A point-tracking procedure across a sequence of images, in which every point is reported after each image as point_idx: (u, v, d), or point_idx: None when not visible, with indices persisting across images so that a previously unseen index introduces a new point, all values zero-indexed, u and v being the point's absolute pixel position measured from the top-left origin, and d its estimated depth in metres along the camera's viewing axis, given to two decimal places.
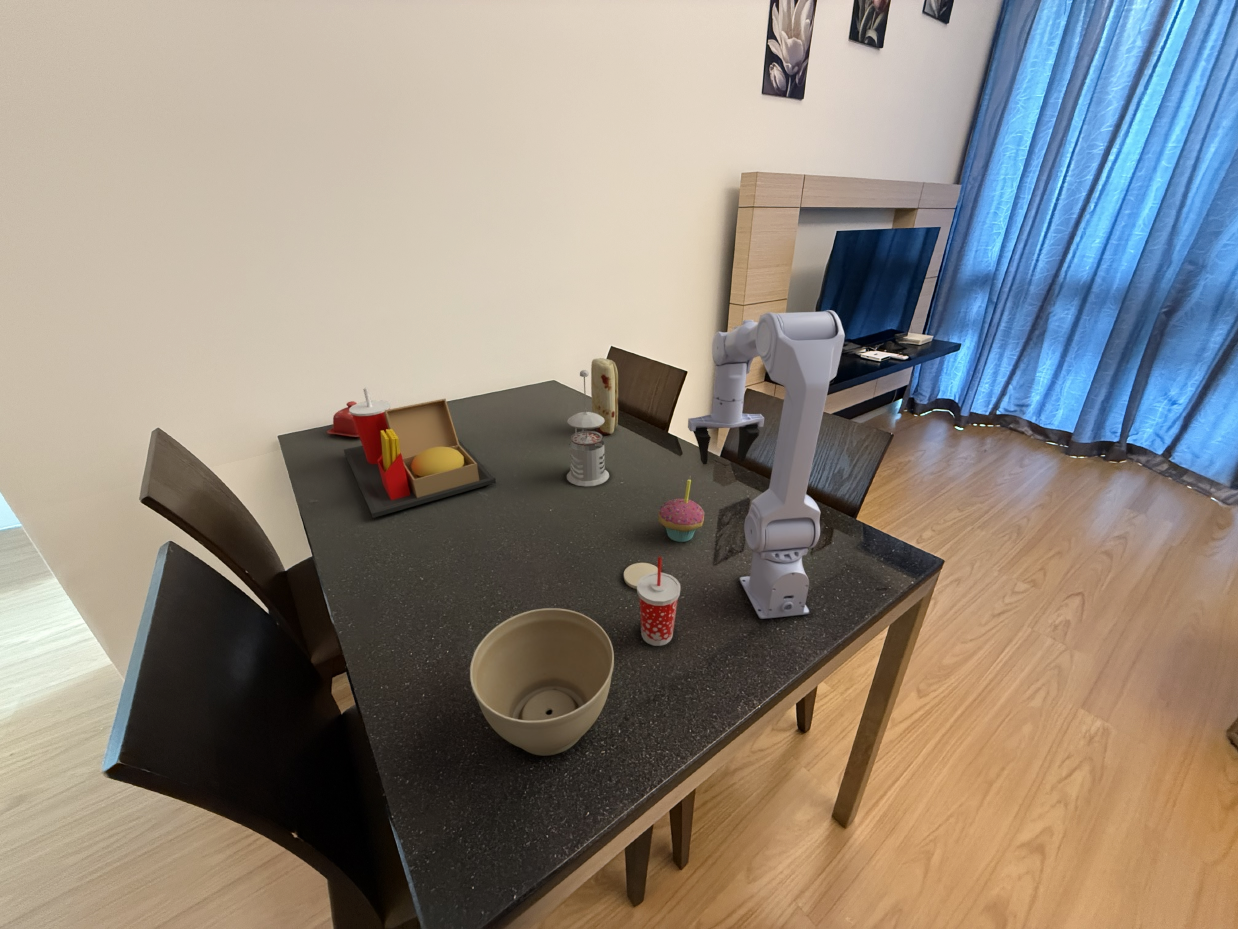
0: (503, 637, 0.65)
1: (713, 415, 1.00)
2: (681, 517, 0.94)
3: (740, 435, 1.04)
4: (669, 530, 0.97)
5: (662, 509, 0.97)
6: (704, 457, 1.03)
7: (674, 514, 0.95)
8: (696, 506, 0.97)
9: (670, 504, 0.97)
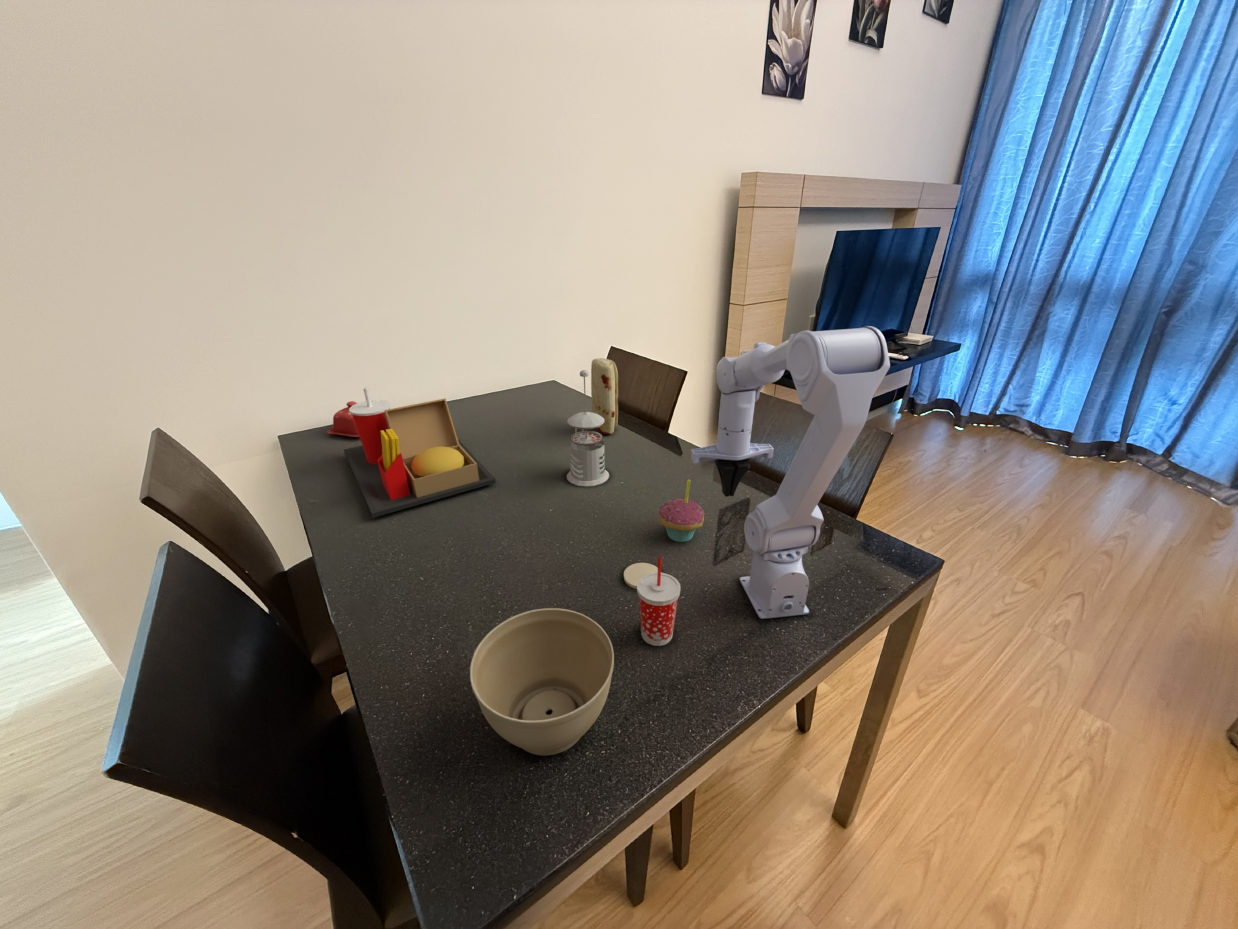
0: (504, 637, 0.65)
1: (718, 446, 0.92)
2: (681, 517, 0.94)
3: None
4: (669, 530, 0.97)
5: (662, 509, 0.97)
6: (726, 489, 0.95)
7: (674, 514, 0.95)
8: (696, 506, 0.97)
9: (670, 504, 0.97)
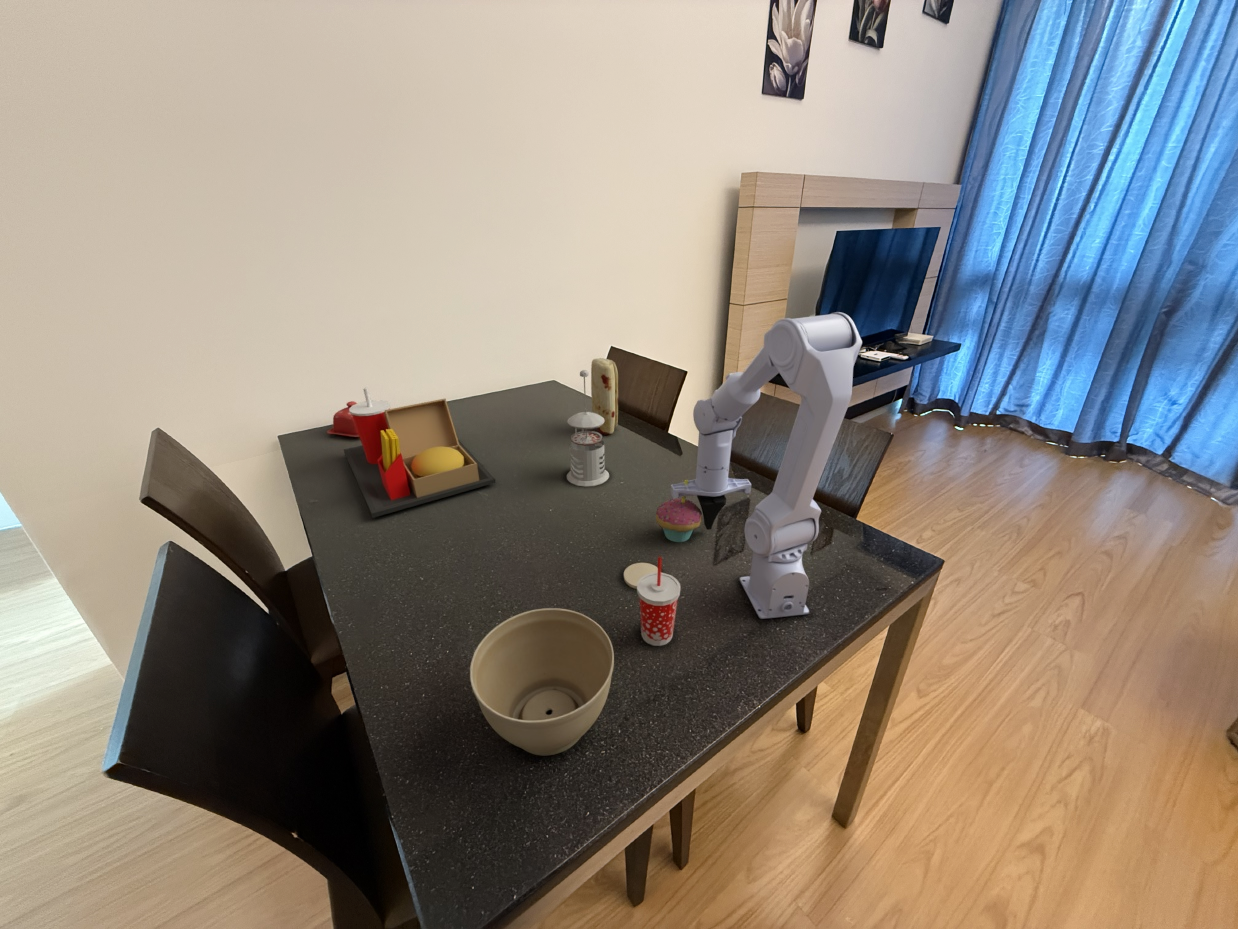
0: (504, 637, 0.65)
1: (697, 482, 0.94)
2: (679, 517, 0.94)
3: None
4: (666, 530, 0.97)
5: (659, 509, 0.97)
6: (708, 523, 0.98)
7: (671, 514, 0.95)
8: (693, 506, 0.97)
9: (667, 504, 0.97)
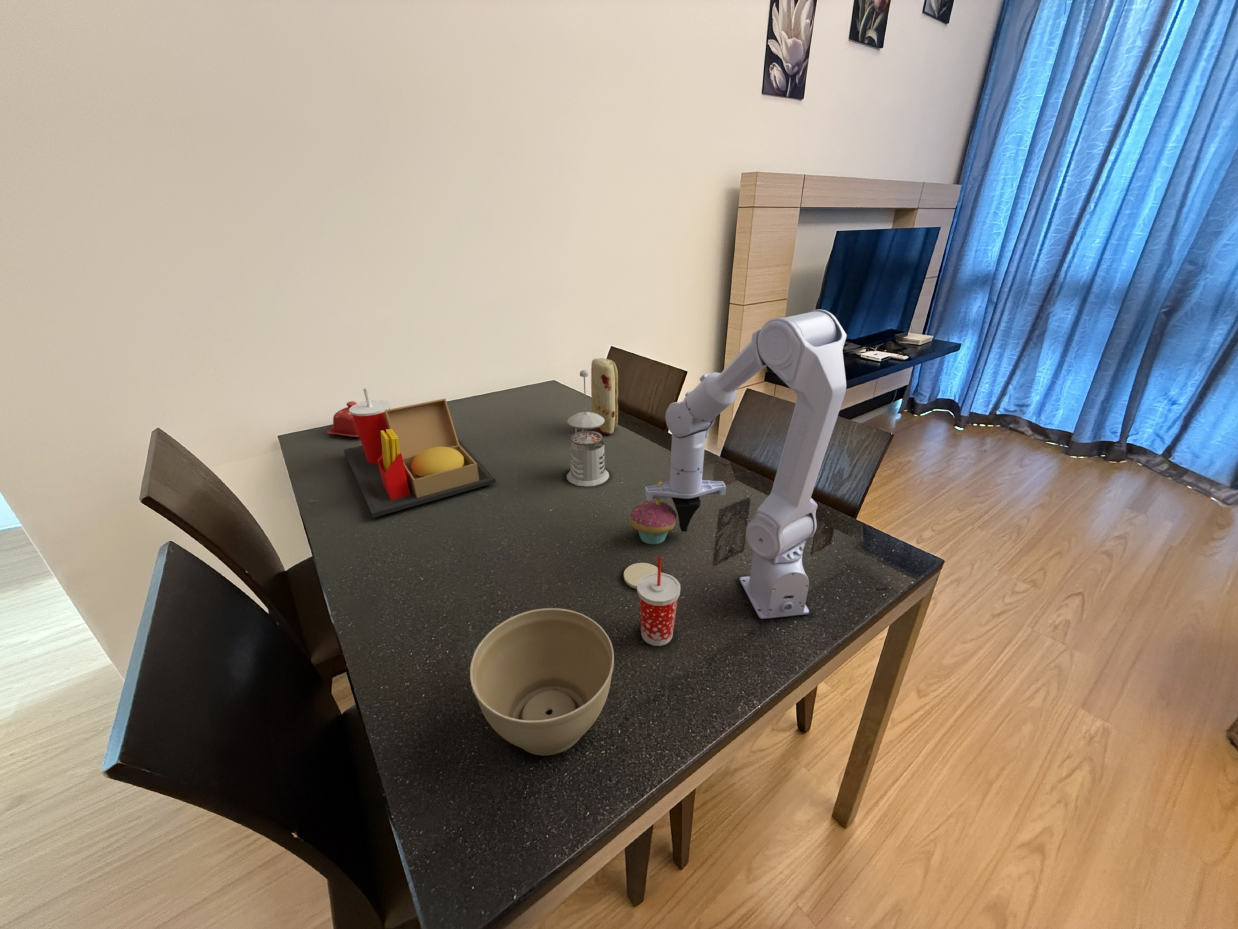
0: (504, 637, 0.65)
1: (671, 484, 0.94)
2: (652, 520, 0.93)
3: None
4: (641, 532, 0.96)
5: (634, 511, 0.96)
6: (683, 525, 0.97)
7: (645, 516, 0.94)
8: (668, 508, 0.96)
9: (641, 506, 0.97)
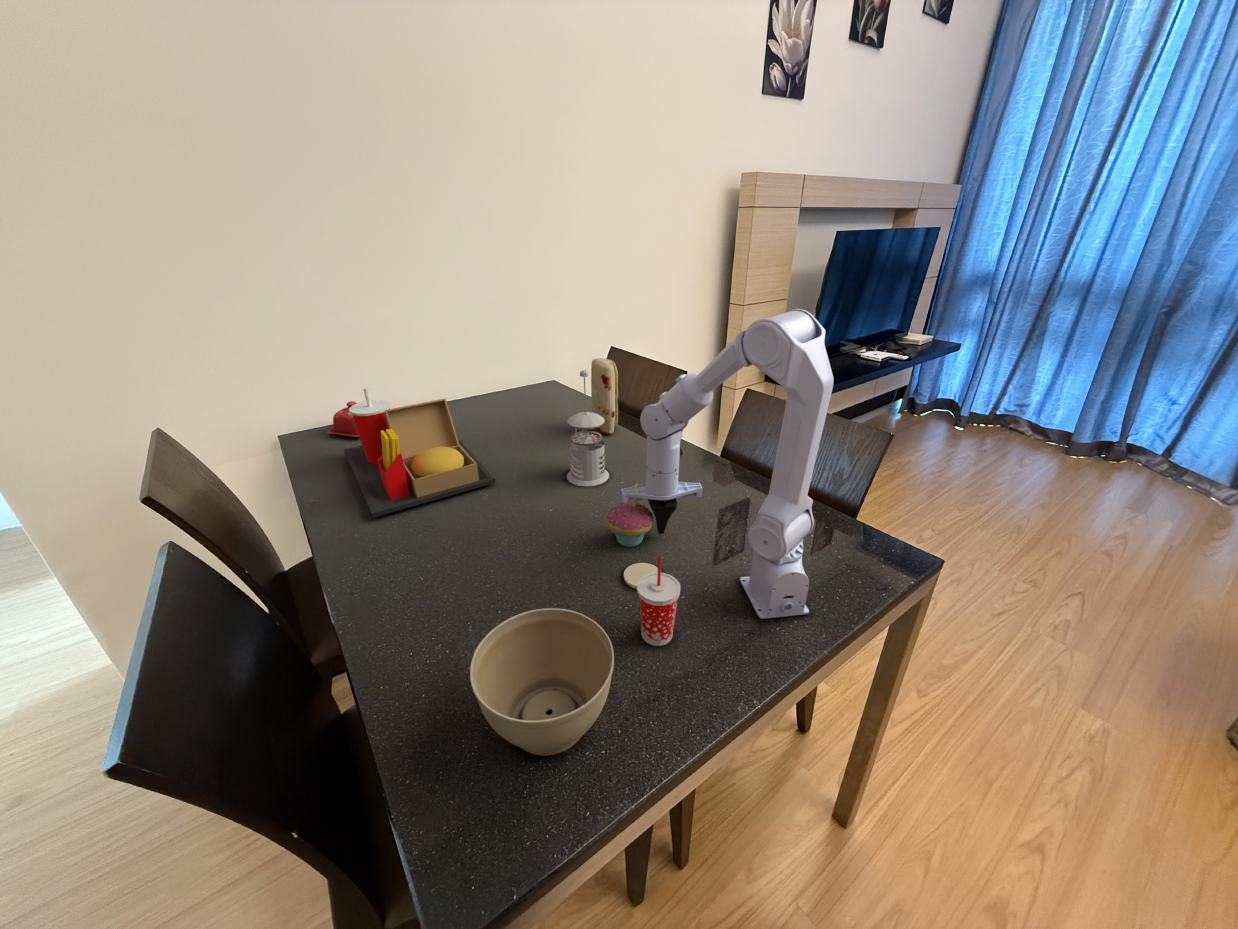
0: (504, 637, 0.65)
1: (647, 486, 0.93)
2: (628, 522, 0.93)
3: None
4: (617, 535, 0.96)
5: (610, 513, 0.96)
6: (659, 527, 0.97)
7: (621, 518, 0.94)
8: (644, 510, 0.96)
9: (618, 508, 0.96)
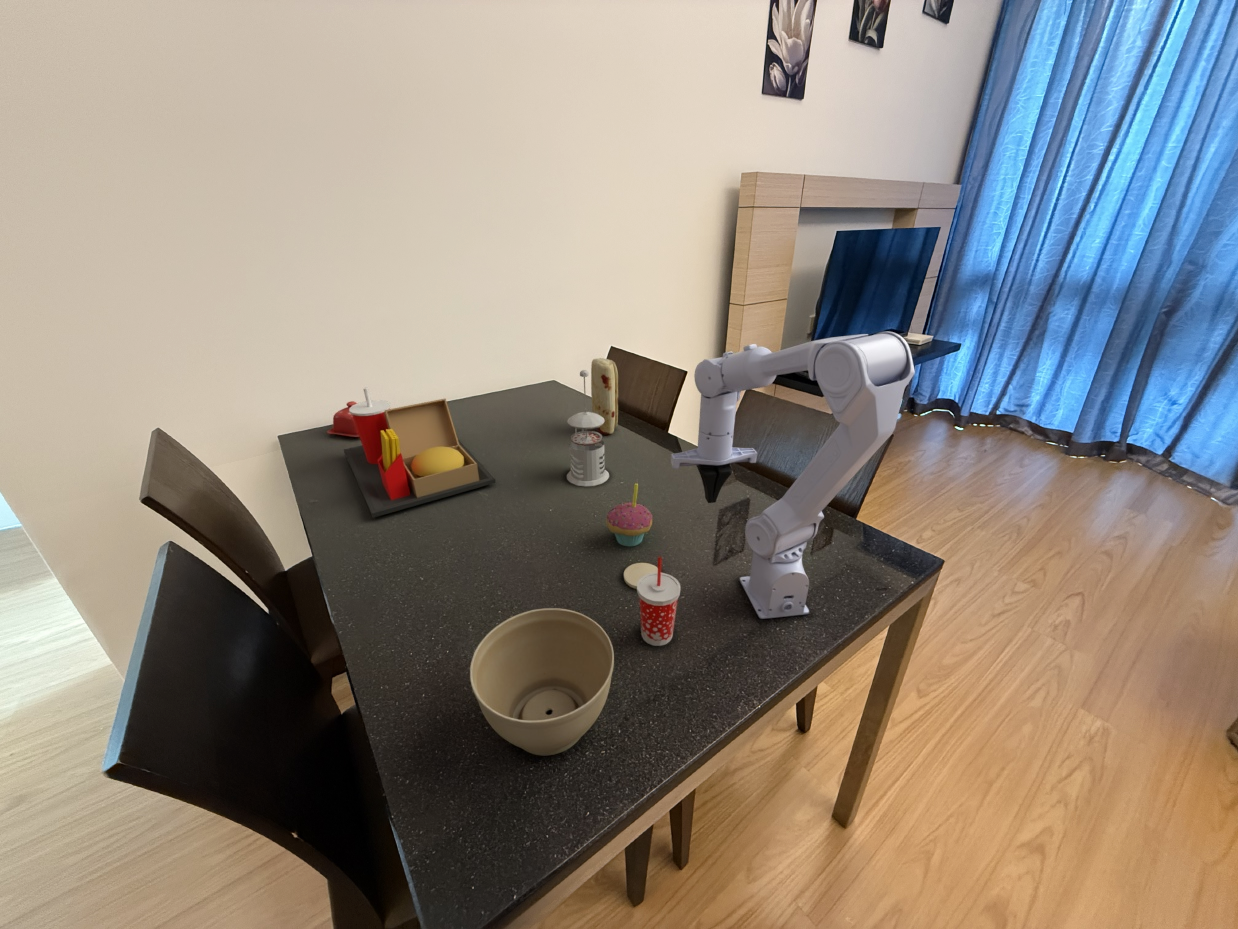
0: (504, 637, 0.65)
1: (699, 450, 0.88)
2: (627, 522, 0.93)
3: None
4: (617, 535, 0.96)
5: (610, 513, 0.96)
6: (709, 495, 0.91)
7: (620, 518, 0.93)
8: (644, 510, 0.96)
9: (617, 508, 0.96)
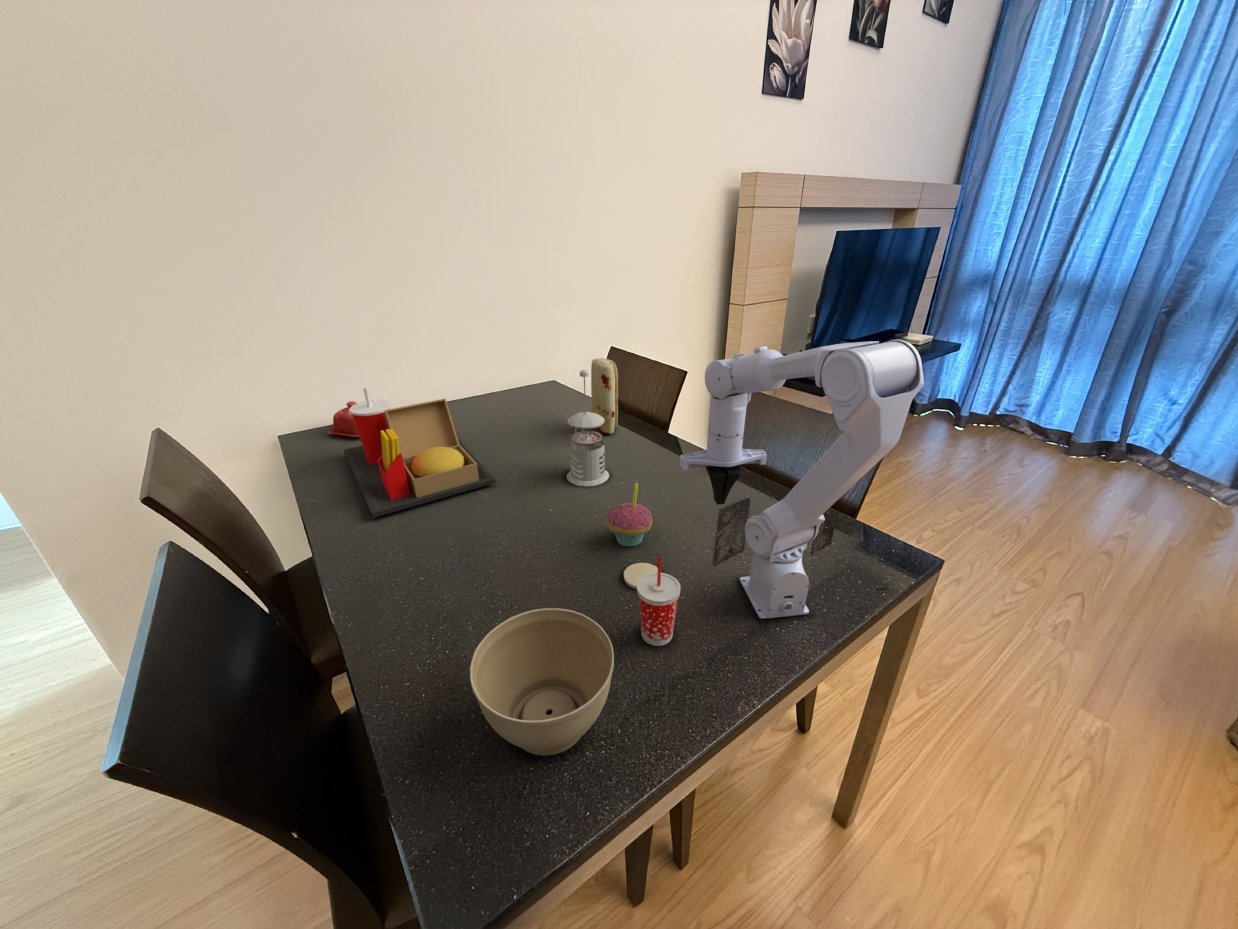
0: (504, 637, 0.65)
1: (708, 452, 0.87)
2: (627, 522, 0.93)
3: None
4: (617, 535, 0.96)
5: (610, 513, 0.96)
6: (718, 497, 0.90)
7: (620, 518, 0.93)
8: (644, 510, 0.96)
9: (617, 508, 0.96)
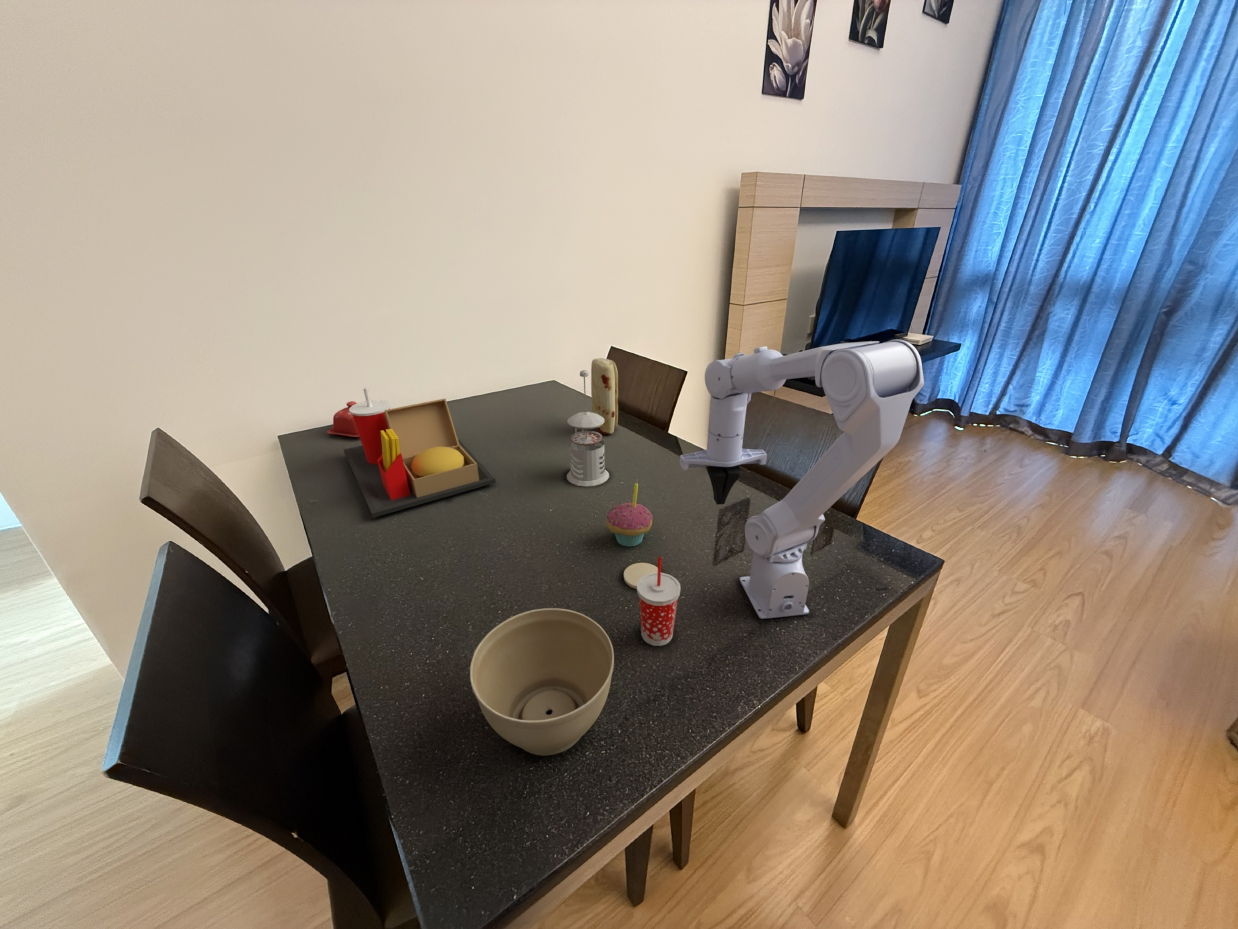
0: (504, 637, 0.65)
1: (708, 452, 0.87)
2: (627, 522, 0.93)
3: None
4: (617, 535, 0.96)
5: (610, 513, 0.96)
6: (718, 497, 0.90)
7: (620, 518, 0.93)
8: (644, 510, 0.95)
9: (617, 508, 0.96)
